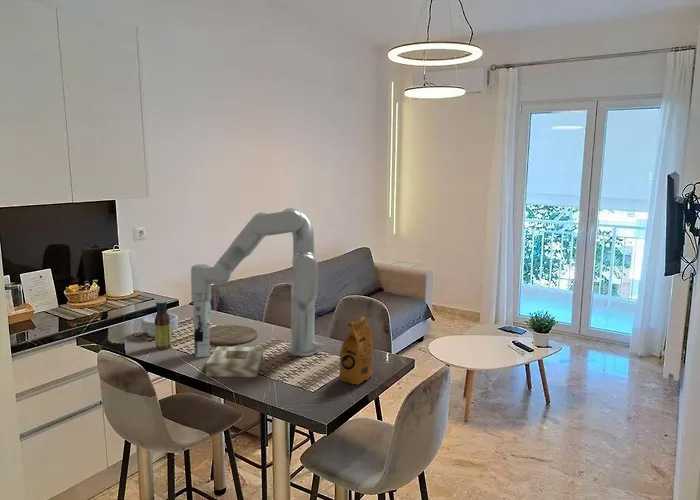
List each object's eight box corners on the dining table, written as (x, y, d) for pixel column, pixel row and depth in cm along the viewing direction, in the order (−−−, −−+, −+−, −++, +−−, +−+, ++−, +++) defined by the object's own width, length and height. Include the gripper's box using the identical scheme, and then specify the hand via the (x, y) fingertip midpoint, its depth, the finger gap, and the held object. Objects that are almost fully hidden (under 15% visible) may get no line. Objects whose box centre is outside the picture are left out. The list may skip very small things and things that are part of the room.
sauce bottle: (164, 344, 221) (163, 298, 218) (174, 347, 218) (173, 300, 215) (151, 348, 215) (150, 301, 212) (162, 351, 212) (160, 303, 209)
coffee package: (334, 380, 187) (336, 321, 184) (352, 370, 197) (354, 314, 194) (358, 387, 182) (360, 326, 179) (375, 376, 192) (377, 318, 189)
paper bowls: (167, 340, 226) (167, 323, 224) (135, 338, 228) (135, 320, 227) (184, 330, 240) (184, 314, 239) (153, 328, 243) (153, 311, 242)
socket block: (263, 359, 206) (263, 347, 205) (256, 376, 188) (256, 363, 188) (217, 358, 206) (217, 346, 205) (206, 376, 188) (206, 363, 187)
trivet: (268, 334, 239) (268, 331, 238) (232, 350, 217) (232, 346, 216) (226, 326, 250) (226, 322, 250) (187, 340, 228) (187, 336, 228)
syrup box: (194, 353, 211) (193, 318, 209) (209, 352, 213) (208, 317, 211) (195, 358, 206) (194, 322, 204) (210, 356, 208) (210, 321, 206)
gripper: (205, 301, 197) (206, 344, 200) (215, 291, 214) (216, 331, 217) (185, 300, 197) (186, 344, 200) (197, 290, 214) (198, 330, 217)
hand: (201, 337), depth 208 cm, fingers open, 9 cm apart
